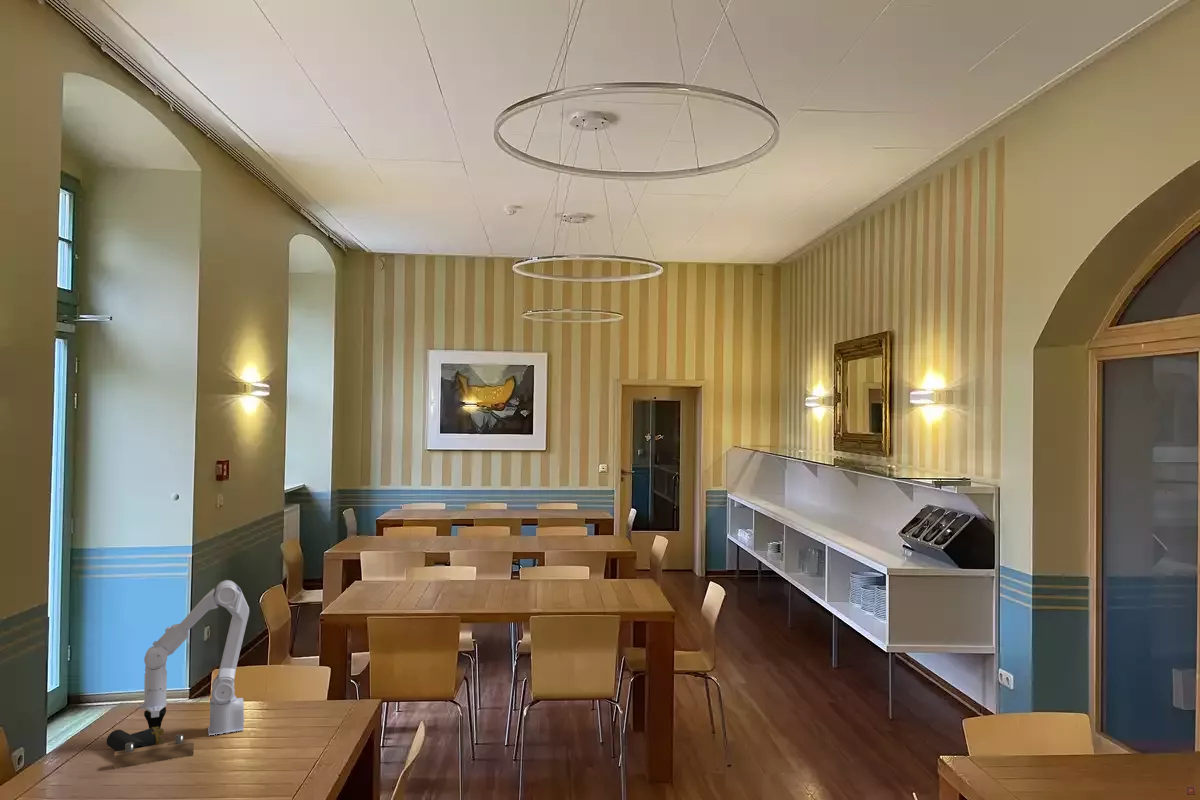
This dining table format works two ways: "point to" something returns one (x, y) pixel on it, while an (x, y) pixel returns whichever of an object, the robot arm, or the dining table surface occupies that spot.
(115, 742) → the pipe connector
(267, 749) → the dining table surface
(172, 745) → the bar
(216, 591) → the robot arm
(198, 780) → the dining table surface
